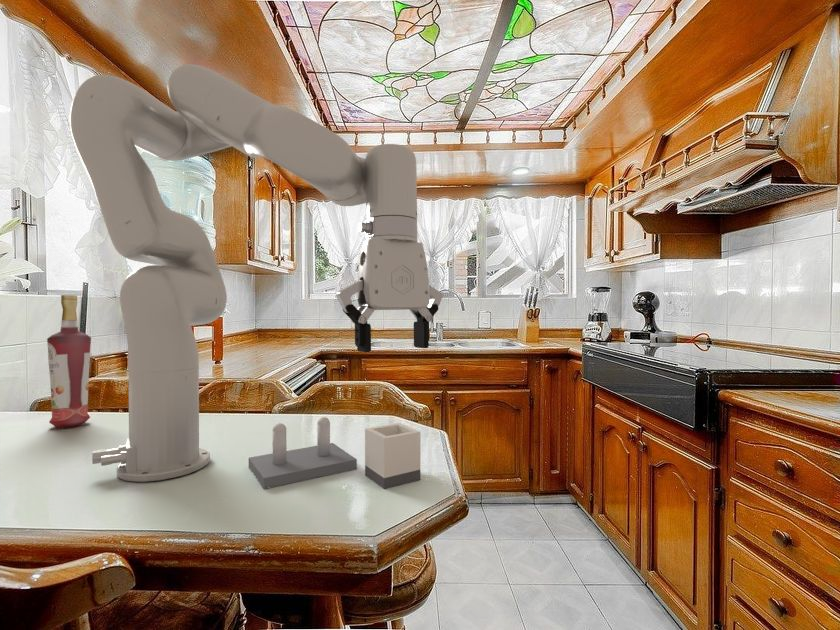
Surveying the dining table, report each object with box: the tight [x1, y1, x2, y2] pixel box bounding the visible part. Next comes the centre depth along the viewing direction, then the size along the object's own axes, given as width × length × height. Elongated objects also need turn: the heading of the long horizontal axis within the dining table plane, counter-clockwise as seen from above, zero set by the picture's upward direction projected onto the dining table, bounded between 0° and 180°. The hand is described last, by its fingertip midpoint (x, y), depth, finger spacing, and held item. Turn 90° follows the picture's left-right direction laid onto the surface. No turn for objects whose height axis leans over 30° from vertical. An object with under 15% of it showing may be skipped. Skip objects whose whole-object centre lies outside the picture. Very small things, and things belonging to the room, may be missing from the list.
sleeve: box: [364, 422, 421, 490], centre depth 64 cm, size 6×6×7 cm
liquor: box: [46, 294, 92, 429], centre depth 93 cm, size 7×7×28 cm
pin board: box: [248, 416, 358, 489], centre depth 68 cm, size 14×10×8 cm
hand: (393, 349), depth 64 cm, fingers open, 9 cm apart
